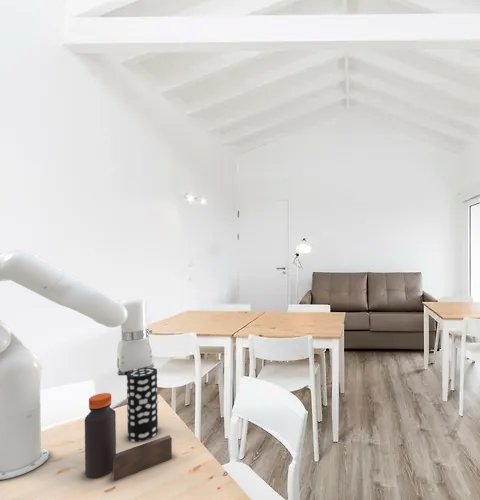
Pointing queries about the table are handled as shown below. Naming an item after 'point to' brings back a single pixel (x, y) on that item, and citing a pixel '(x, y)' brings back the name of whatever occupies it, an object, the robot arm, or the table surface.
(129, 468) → the bar
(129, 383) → the white-spotted black cylinder
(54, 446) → the table surface
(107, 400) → the bottle
